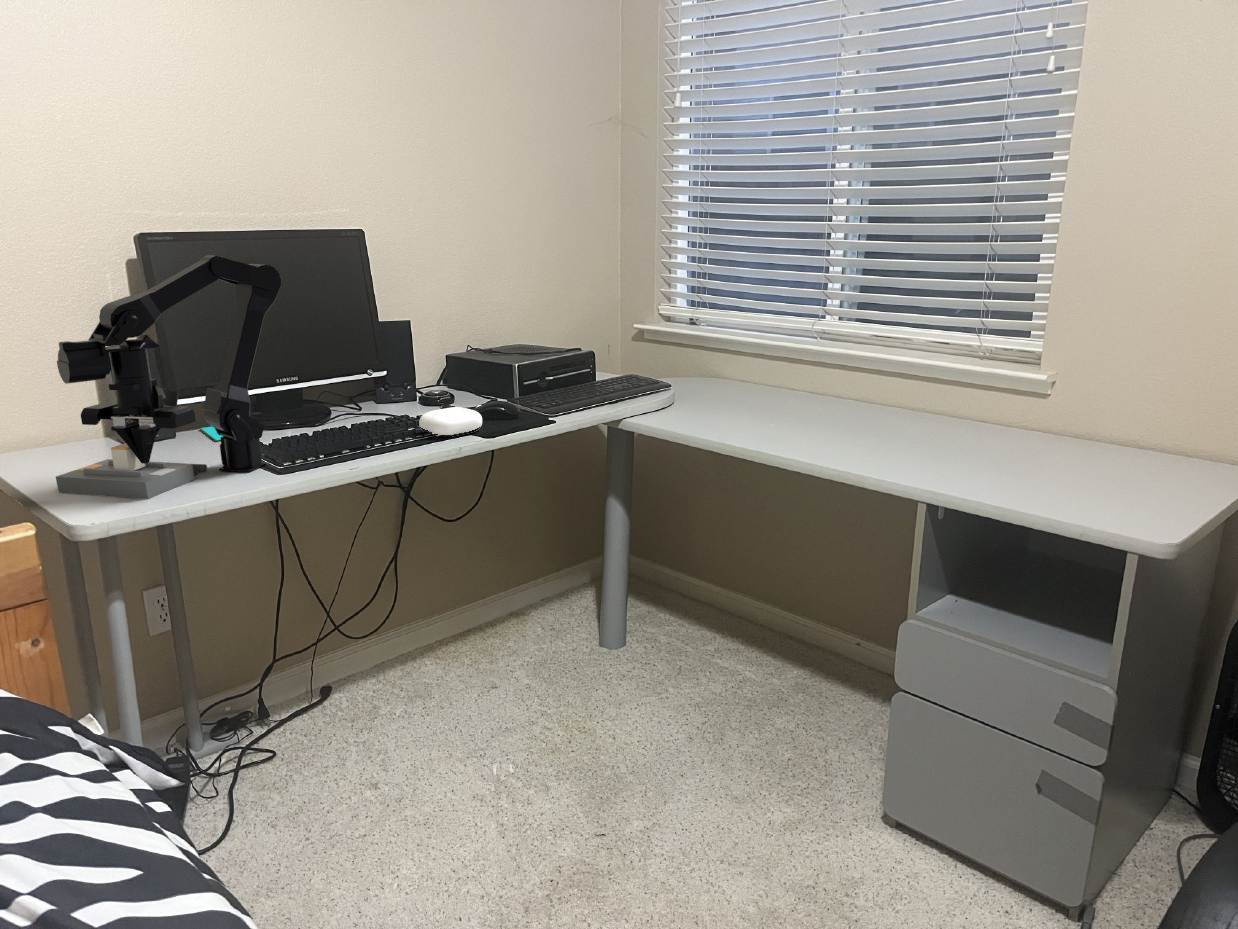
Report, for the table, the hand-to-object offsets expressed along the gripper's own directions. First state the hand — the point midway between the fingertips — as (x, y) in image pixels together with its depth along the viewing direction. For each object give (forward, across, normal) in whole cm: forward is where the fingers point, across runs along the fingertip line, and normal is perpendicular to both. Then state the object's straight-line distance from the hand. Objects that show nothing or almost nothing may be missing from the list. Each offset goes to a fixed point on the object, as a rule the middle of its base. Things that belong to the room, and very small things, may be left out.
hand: (145, 463), depth 154 cm
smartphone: (+5, +13, -40) cm, 43 cm away
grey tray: (+4, +4, 0) cm, 6 cm away
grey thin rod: (+4, +3, -11) cm, 12 cm away
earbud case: (+5, -37, -50) cm, 63 cm away
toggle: (+2, +3, 0) cm, 4 cm away
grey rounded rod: (+4, +4, -9) cm, 11 cm away
